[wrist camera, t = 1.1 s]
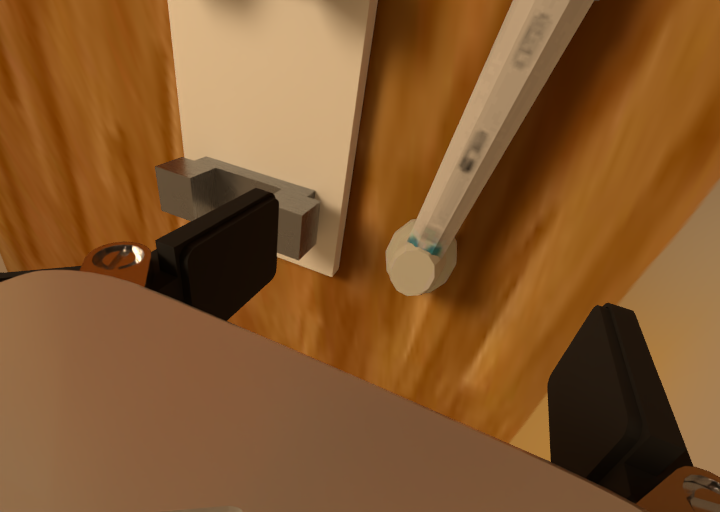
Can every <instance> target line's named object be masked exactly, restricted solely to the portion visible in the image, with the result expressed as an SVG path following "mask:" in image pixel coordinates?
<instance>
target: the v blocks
mask: <svg viewBox="0 0 720 512" xmlns="http://www.w3.org/2000/svg"><path fill="white" fill-rule="evenodd" d="M155 170H156V177H157V183H158V190H159V196H160V203H161V209H162V211H165V212H167V213H170V214H173V215H176V216H178V217H181V218H184V219H186V220H189V221H193V220H195V219H197V218H199V217H201V216H203V215H205V214H207V213H208V212H210V211H212V210H214V209H216V208H218V207H220V206H222V205H224V204H226V203H227V202H229V201H231V200H233V199H235V198H237V197H239V196H241V195H243V194H245V193H247V192H248V191H250V190H252V189H254V188H259V189H262V190H265V191H268V192H271V193H273V194H274V195H275V199H277V200H278V201H279V219H278V242H277V253H279V254H282V255H285V256H287V257H290V258H293V259H296V260H298V261H299V260H300V259H301V258H302V257H303V256H304V255H305V254H306V253H307V252H308V251H309V250H310V249H311V248H312V247H313V246H314V245H316V241H317V232H318V222H319V212H320V202H321V201H318V200H315V190H312V189H309V188H306V187H302V186H299V185H296V184H293V183H290V182H286V181H283V180H280V179H277V178H274V177H270V176H267V175H264V174H261V173H258V172H255V171H251V170H248V169H245V168H242V167H239V166H235V165H232V164H229V163H226V162H223V161H220V160H216V159H213V158H210V157H207V156H206V157H203V158H200V159H197V160H195V161H194V160H190V159H187V158H184V157H181V158H178V159H175V160H172V161H169V162H166V163H164V164H161V165H158V166H155Z"/></svg>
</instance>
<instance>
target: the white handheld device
mask: <svg viewBox="0 0 720 512" xmlns="http://www.w3.org/2000/svg"><path fill="white" fill-rule="evenodd" d="M594 1H599V0H513V2H512V4H511V6H510V9H509V11H508V13H507V15H506V18H505V20H504V22H503V24H502V27H501V29H500V31H499V34H498V36H497V38H496V40H495V43H494V45H493V47H492V49H491V52H490V54H489V56H488V59H487V61H486V63H485V65H484V68H483V70H482V72H481V74H480V77H479V79H478V81H477V84H476V86H475V88H474V90H473V93H472V95H471V97H470V99H469V102H468V104H467V106H466V109H465V111H464V113H463V115H462V118H461V120H460V122H459V124H458V127H457V129H456V131H455V134H454V136H453V138H452V140H451V143H450V145H449V147H448V149H447V152H446V154H445V156H444V159H443V161H442V163H441V165H440V168H439V170H438V172H437V174H436V177H435V179H434V181H433V183H432V186H431V188H430V190H429V193H428V195H427V197H426V199H425V202H424V204H423V206H422V208H421V211H420V213H419V215H418V218H417V219H412V220H410V221H409V222H408V223H406V224H405V225H404V226H403V227H401V228H400V229H399V230H397V231H396V232H395V233H394V235H393V237H392V239H391V242H390V244H389V246H388V248H387V250H386V268H387V272H388V274H389V275H390V280H391V282H392V283H393V285H394V286H395V288H396V290H397V291H399V292H401V293H403V294H404V295H406V296H413V295H422V294H423V293H430V292H431V291H433V290H435V289H436V288H438V287H439V286H441V285H442V284H444V283H446V281H447V279H448V278H449V276H450V274H451V272H452V271H453V269H454V267H455V265H456V262H457V241H456V239H455V235H456V233H457V232H458V230H459V228H460V227H461V225H462V223H463V222H464V220H465V218H466V216H467V215H468V213H469V211H470V210H471V208H472V206H473V205H474V203H475V201H476V200H477V198H478V196H479V194H480V193H481V191H482V189H483V188H484V186H485V184H486V183H487V181H488V179H489V178H490V176H491V174H492V172H493V171H494V169H495V167H496V166H497V164H498V162H499V161H500V159H501V157H502V156H503V154H504V152H505V150H506V149H507V147H508V145H509V144H510V142H511V140H512V139H513V137H514V135H515V134H516V132H517V130H518V128H519V127H520V125H521V123H522V122H523V120H524V118H525V117H526V115H527V113H528V112H529V110H530V108H531V106H532V105H533V103H534V101H535V100H536V98H537V96H538V95H539V93H540V91H541V90H542V88H543V86H544V84H545V83H546V81H547V79H548V78H549V76H550V74H551V73H552V71H553V69H554V68H555V66H556V64H557V62H558V61H559V59H560V57H561V56H562V54H563V52H564V51H565V49H566V47H567V46H568V44H569V42H570V40H571V39H572V37H573V35H574V34H575V32H576V30H577V29H578V27H579V25H580V24H581V22H582V20H583V19H584V17H585V15H586V13H587V12H588V10H589V8H590V7H591V5H592V3H593V2H594Z"/></svg>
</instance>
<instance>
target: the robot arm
mask: <svg viewBox="0 0 720 512" xmlns="http://www.w3.org/2000/svg"><path fill="white" fill-rule="evenodd" d="M278 219H279V201H278V200H277V199H275V195H274V194H273V193H271V192H268V191H265V190H262V189H259V188H254V189H252V190H250V191H248V192H247V193H245V194H243V195H241V196H239V197H237V198H235V199H233V200H231V201H229V202H227V203H226V204H224V205H222V206H220V207H218V208H216V209H214V210H212V211H210V212H208V213H207V214H205V215H203V216H201V217H199V218H197V219H195V220H193V221H191V222H189V223H187V224H186V225H184V226H182V227H180V228H178V229H176V230H174V231H172V232H170V233H168V234H167V235H165V236H163V237H161V238H159V239H157V240H155V241H156V247H157V249H156V250H154V251H152V252H151V251H150V249H149V248H148V247H147V246H145V245H143V244H140V243H135V242H115V243H110V244H106V245H103V246H100V247H98V248H96V249H94V250H93V251H91V252H90V253H89V254H88V255H87V256H86V257H85V259H84V262H83V264H82V266H75V267H64V268H53V269H41V270H30V271H19V272H7V273H0V512H720V477H718V476H716V475H715V474H713V473H711V472H709V471H706V470H703V469H700V468H697V467H693V464H692V462H691V459H690V456H689V454H688V451H687V449H686V446H685V443H684V441H683V438H682V435H681V433H680V430H679V428H678V425H677V422H676V420H675V417H674V415H673V412H672V409H671V407H670V404H669V401H668V399H667V396H666V393H665V391H664V388H663V386H662V383H661V380H660V378H659V376H658V373H657V370H656V368H655V365H654V363H653V360H652V357H651V355H650V352H649V350H648V347H647V344H646V342H645V339H644V336H643V334H642V331H641V328H640V326H639V323H638V320H637V318H636V315H635V313H634V311H632V310H629V309H626V308H623V307H620V306H617V305H614V304H610V303H606V304H605V305H603V307H602V306H599V305H597V306H595V307H594V308H593V309H592V311H591V312H590V314H589V316H588V317H587V319H586V320H585V322H584V323H583V325H582V327H581V328H580V330H579V331H578V333H577V334H576V336H575V337H574V339H573V341H572V342H571V344H570V345H569V347H568V348H567V350H566V352H565V353H564V355H563V356H562V358H561V359H560V361H559V363H558V364H557V366H556V367H555V369H554V370H553V372H552V374H551V375H550V378H549V381H548V407H549V431H550V452H551V462H549V461H547V460H545V459H543V458H540V457H538V456H536V455H534V454H531V453H529V452H527V451H524V450H522V449H520V448H518V447H515V446H513V445H511V444H509V443H506V442H504V441H502V440H499V439H497V438H495V437H493V436H490V435H488V434H486V433H483V432H481V431H479V430H477V429H474V428H472V427H470V426H468V425H465V424H463V423H461V422H458V421H456V420H454V419H452V418H449V417H447V416H445V415H442V414H440V413H438V412H436V411H433V410H431V409H429V408H427V407H424V406H422V405H420V404H417V403H415V402H413V401H411V400H408V399H406V398H404V397H402V396H399V395H397V394H395V393H392V392H390V391H388V390H385V389H383V388H381V387H379V386H376V385H374V384H372V383H369V382H367V381H365V380H362V379H360V378H358V377H355V376H353V375H351V374H349V373H346V372H344V371H342V370H339V369H337V368H335V367H332V366H330V365H328V364H325V363H323V362H321V361H319V360H316V359H314V358H312V357H309V356H307V355H305V354H302V353H300V352H298V351H295V350H293V349H291V348H288V347H286V346H284V345H281V344H279V343H277V342H274V341H272V340H270V339H267V338H265V337H263V336H260V335H258V334H256V333H253V332H251V331H249V330H246V329H244V328H241V327H239V326H237V325H234V324H232V323H230V322H227V320H228V319H229V318H230V317H231V316H232V315H234V314H235V313H236V312H237V311H238V310H239V309H240V308H241V307H242V306H243V305H245V304H246V303H247V302H248V301H249V300H250V299H251V298H252V297H253V296H254V295H256V294H257V293H258V292H259V291H260V290H261V289H262V288H263V287H264V286H265V285H267V284H268V283H269V282H270V281H271V280H272V279H273V277H274V275H275V273H276V266H277V242H278Z"/></svg>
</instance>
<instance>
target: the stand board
mask: <svg viewBox="0 0 720 512" xmlns="http://www.w3.org/2000/svg"><path fill="white" fill-rule="evenodd" d="M377 4H378V0H168V8H169V17H170V27H171V36H172V45H173V55H174V64H175V73H176V83H177V92H178V101H179V111H180V120H181V129H182V139H183V148H184V157H185V158H187V159H190V160H194V161H195V160H197V159H200V158H203V157H206V156H207V157H210V158H213V159H216V160H220V161H223V162H226V163H229V164H232V165H235V166H239V167H242V168H245V169H248V170H251V171H255V172H258V173H261V174H264V175H267V176H270V177H274V178H277V179H280V180H283V181H286V182H290V183H293V184H296V185H299V186H302V187H306V188H309V189H312V190H315V200H318V201H321V202H320V212H319V222H318V232H317V241H316V245H314V246H313V247H312V248H311V249H310V250H309V251H308V252H307V253H306V254H305V255H304V256H303V257H302V258H301V259H300V260H299V261H298V260H296V259H293V258H290V257H287V256H285V255H282V254H279V253H277V257H279V258H282V259H284V260H287V261H290V262H292V263H295V264H298V265H300V266H303V267H306V268H309V269H311V270H314V271H317V272H319V273H322V274H325V275H328V276H330V277H332V276H333V275H334V274H335V273H336V272H337V271H338V269H339V263H340V256H341V249H342V243H343V236H344V229H345V222H346V215H347V208H348V202H349V195H350V188H351V181H352V174H353V168H354V161H355V154H356V147H357V140H358V133H359V127H360V120H361V113H362V106H363V99H364V92H365V86H366V79H367V72H368V65H369V58H370V51H371V45H372V38H373V31H374V24H375V17H376V10H377Z"/></svg>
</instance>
